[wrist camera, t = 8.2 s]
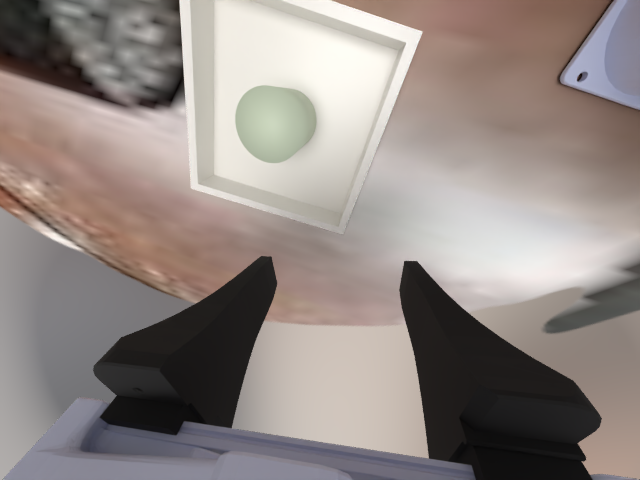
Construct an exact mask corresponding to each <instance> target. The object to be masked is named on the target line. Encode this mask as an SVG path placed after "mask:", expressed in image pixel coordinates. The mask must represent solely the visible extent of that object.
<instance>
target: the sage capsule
mask: <svg viewBox="0 0 640 480" xmlns="http://www.w3.org/2000/svg"><path fill="white" fill-rule="evenodd" d="M316 123H317V118H316V112H315V109H314V106H313V104H312V102H311V101H310V100H309V98H308V97H307V96H306V95H305V94H303V93H302V92H300V91H298V90H295V89H290V88H282V87H275V86H267V85H261V86H256V87H254V88H252V89H250V90H248V91H247V92H246V93H245V94H244V95H243V96H242V98H241V99H240V101H239V103H238V105H237V109H236V114H235V124H236V130H237V133H238V136H239V138H240V140H241V142H242V144H243V145H244V147H245V148H246V149H247V151H248V152H249V153H250V154H252V155H253V156H254V157H256V158H257V159H259V160H261V161H264V162H267V163H280V162H283V161H286V160H287V159H289V158H290V157H292V156H293V155H294V154H295V153H296V152H297V151H299V150H300V149H301V148H302V147H303V146H304V145H305V144H306V143H308V142H309V141H310V139H311V138H312V137H313V135H314V132H315V129H316Z"/></svg>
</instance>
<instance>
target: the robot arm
mask: <svg viewBox="0 0 640 480" xmlns="http://www.w3.org/2000/svg"><path fill="white" fill-rule="evenodd" d="M580 73H582V78H581V79H580V80H579V81H577V77H578V75H579V74H580ZM560 81H561V83H562V84H564V85H567V86H570V87H573V88H576V89H579V90H582V91H584V92H587V93H590V94H593V95H596V96H599V97H602V98H605V99H608V100H611V101H614V102H617V103H620V104H623V105H626V106H629V107H632V108H635V109H637V110H640V0H614V1H613V2H612V3H611V5H610V6H609V8H608V9H607V10H606V12H605V13H604V15H603V16H602V17H601V19H600V20H599V22H598V23H597V25H596V26H595V27H594V29H593V30H592V32H591V33H590V34H589V36H588V37H587V39H586V40H585V41H584V43H583V44H582V46H581V47H580V48H579V50H578V51H577V53H576V54H575V56H574V57H573V58H572V60H571V61H570V63H569V64H568V65H567V67H566V68H565V70H564V71H563V73H562V74H561V77H560ZM276 287H277V280H276V276H275V271H274V267H273V262H272V257H266V256H261V257H260V258H258V259H257V260H256V261H254V262H253V263H252V264H251V265H250V266H248V267H247V268H246V269H245V270H243V271H242V272H241V273H240V274H238V275H237V276H236V277H235V278H233V279H232V280H231V281H229V282H228V283H227V284H225V285H224V286H222V287H221V288H220V289H218V290H217V291H215V292H214V293H212V294H211V295H209V296H208V297H206V298H205V299H203V300H201V301H200V302H198V303H196V304H195V305H193V306H191V307H189V308H187V309H185V310H183V311H182V312H180V313H178V314H176V315H174V316H172V317H169V318H167V319H165V320H163V321H161V322H159V323H157V324H154V325H152V326H149V327H147V328H144V329H142V330H139V331H137V332H134V333H132V334H129V335H126V336H124V337H121V338H120V339H119V341H117V342H116V343H115V345H114V346H113V347H112V348H111V349H110V350H109V351H108V352H107V353H106V354H105V355H104V356H103V357H102V358H101V359H100V360H99V361H98V362H97V363H96V364H95V365H94V370H93V371H94V374H95V376H96V377H97V378H98V379H99V380H100V381H101V382H102V383H103V384H104V385H106V386H107V387H108V388H109V389H110V390H111V391H112V392H113V393H115V394H116V395H117V396H116V397H115V399H114V400H113V401H112V402H111V404H110V403H108V402H106V401H103V400H97V399H90V398H83V397H80V398H77V399H76V400H75V402H74V403H73V404H72V405H71V406H70V407H69V408H68V409H67V410H66V411H65V412H64V414H63V415H61V417H60V418H59V419H58V420H57V421H56V422H55V423H54V425H52V426H51V427H50V429H49V430H48V431H47V432H46V433H45V434H44V435H43V436H42V437H41V438H40V439H39V440H38V442H37V443H36V444H35V445H34V446H33V447H32V448H31V449H30V450H29V451H28V452H27V453H26V455H25V456H24V457H23V458H22V459H21V460H20V461H19V462H18V463H17V464H16V465H15V466H14V468H13V469H12V470H11V471H10V472H9V473H8V474H7V475H6V476H5V477H4V478H3V480H640V479H634V478H627V477H621V476H614V475H606V474H594V475H589V473H588V471H587V470H586V468H585V467H584V465H583V463H582V462H581V461H585V460H586V457H585V455H584V453H583V452H582V450H581V449H580V447H579V445H578V444H577V443H578V442H580V441H581V440H583V439H584V438H586V437H587V436H589V435H590V434H592V433H593V432H595V431H596V430H597V429H598V428H599V427H600V423H601V419H602V418H601V417H600V415H599V413H598V412H597V410H596V409H595V408H594V406H593V405H592V404H591V403H590V401H589V400H588V398H587V397H586V396H585V395H584V393H583V392H582V391H581V390H580V388H579V387H578V386H577V385H576V383H575V382H574V381H573V380H571V379H569V378H567V377H566V376H564V375H562V374H560V373H558V372H557V371H555V370H553V369H551V368H550V367H548V366H546V365H544V364H542V363H541V362H539V361H537V360H535V359H534V358H532V357H531V356H529V355H527V354H525V353H524V352H522V351H521V350H519V349H518V348H516V347H514V346H513V345H511V344H510V343H508V342H507V341H505V340H504V339H502V338H501V337H499V336H498V335H497V334H495V333H494V332H492V331H491V330H490V329H488V328H487V327H485V326H484V325H483V324H481V323H480V322H479V321H477V320H476V319H475V318H474V317H473V316H471V315H470V314H469V313H468V312H466V311H465V310H464V309H463V308H462V307H460V306H459V305H458V304H457V303H456V302H455V301H454V300H453V299H452V298H451V297H450V296H449V295H448V294H447V293H446V292H445V291H444V290H443V289H442V288H441V287H440V286H439V285H438V284H437V283H436V282H435V281H434V280H433V279H432V278H431V277H430V275H429V274H428V273H427V272H426V271H425V270H424V269H423V268H422V266H421V265H420V264H419V263H418V262H417V261H404V266H403V272H402V278H401V284H400V298H401V305H402V310H403V314H404V317H405V321H406V325H407V328H408V332H409V336H410V339H411V343H412V347H413V351H414V355H415V361H416V366H417V373H418V378H419V385H420V392H421V398H422V405H423V413H424V420H425V428H426V436H427V444H428V453H429V459H428V458H420V457H415V456H408V455H402V454H395V453H389V452H382V451H375V450H368V449H363V448H356V447H349V446H343V445H336V444H329V443H323V442H317V441H310V440H303V439H297V438H291V437H284V436H278V435H271V434H265V433H258V432H251V431H245V430H239V429H232V424H233V419H234V415H235V411H236V407H237V402H238V399H239V395H240V391H241V387H242V384H243V380H244V376H245V373H246V369H247V366H248V363H249V359H250V356H251V353H252V350H253V347H254V343H255V341H256V338H257V335H258V333H259V331H260V328H261V326H262V324H263V322H264V319H265V317H266V315H267V312H268V310H269V308H270V305H271V303H272V300H273V297H274V294H275V290H276Z"/></svg>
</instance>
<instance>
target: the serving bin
mask: <svg viewBox="0 0 640 480" xmlns="http://www.w3.org/2000/svg"><path fill="white" fill-rule="evenodd" d="M180 17H181V33H182V49H183V66H184V82H185V98H186V115H187V131H188V148H189V164H190V180H191V189H194V190H198V191H201V192H204V193H207V194H211V195H214V196H217V197H220V198H224V199H227V200H230V201H234V202H237V203H240V204H243V205H247V206H250V207H253V208H256V209H260V210H263V211H266V212H269V213H273V214H276V215H279V216H283V217H286V218H289V219H292V220H296V221H299V222H302V223H305V224H309V225H312V226H315V227H319V228H322V229H325V230H328V231H332V232H335V233H338V234H341V235H343V234H344V231H345V229H346V226H347V223H348V221H349V218H350V216H351V213H352V211H353V208H354V206H355V203H356V200H357V198H358V195H359V193H360V190H361V188H362V185H363V183H364V180H365V178H366V175H367V172H368V170H369V167H370V165H371V162H372V160H373V157H374V155H375V152H376V149H377V147H378V144H379V142H380V139H381V137H382V134H383V132H384V129H385V127H386V124H387V121H388V119H389V116H390V114H391V111H392V109H393V106H394V104H395V101H396V99H397V96H398V93H399V91H400V88H401V86H402V83H403V81H404V78H405V76H406V73H407V70H408V68H409V65H410V63H411V60H412V58H413V55H414V53H415V50H416V48H417V45H418V42H419V40H420V37H421V35H422V31H419V30H416V29H413V28H410V27H407V26H404V25H401V24H398V23H395V22H392V21H389V20H387V19H384V18H381V17H378V16H375V15H372V14H369V13H366V12H363V11H360V10H357V9H354V8H351V7H348V6H345V5H342V4H340V3H337V2H334V1H331V0H180ZM261 85H267V86H275V87H282V88H290V89H295V90H298V91H300V92H302V93H303V94H305V95H306V96H307V97H308V98H309V100H310V101H311V102H312V104H313V106H314V109H315V112H316V118H317V123H316V129H315V132H314V135H313V137H312V138H311V139H310V141H309V142H308V143H306V144H305V145H304V146H303V147H302V148H301V149H300V150H299V151H297V152H296V153H295V154H294V155H293V156H292V157H290V158H289V159H287V160H286V161H283V162H280V163H267V162H264V161H261V160H259V159H257V158H256V157H254V156H253V155H252V154H250V153H249V152H248V151H247V149H246V148H245V147H244V145H243V144H242V142H241V140H240V138H239V136H238V133H237V130H236V124H235V114H236V109H237V105H238V103H239V101H240V99H241V98H242V96H243V95H244V94H245V93H246V92H247V91H248V90H250V89H252V88H254V87H256V86H261Z"/></svg>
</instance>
